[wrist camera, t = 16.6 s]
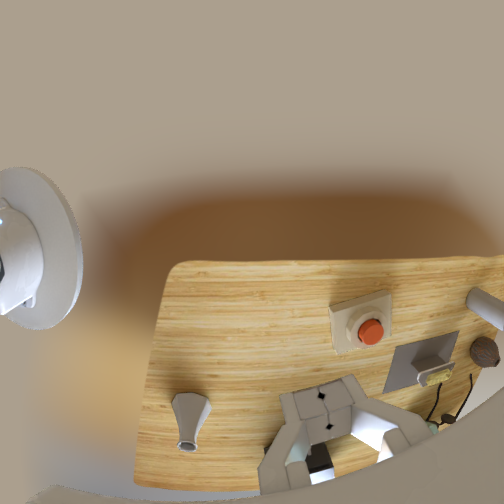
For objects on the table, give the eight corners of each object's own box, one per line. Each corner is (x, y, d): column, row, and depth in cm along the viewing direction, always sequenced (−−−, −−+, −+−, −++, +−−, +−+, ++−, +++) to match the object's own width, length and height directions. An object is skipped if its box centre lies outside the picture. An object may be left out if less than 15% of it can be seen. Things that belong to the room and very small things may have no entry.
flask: (213, 394, 44) (212, 436, 34) (210, 420, 46) (209, 460, 36) (171, 388, 43) (163, 430, 33) (171, 414, 45) (164, 454, 35)
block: (332, 347, 44) (341, 361, 40) (328, 306, 41) (337, 318, 38) (385, 329, 44) (396, 341, 40) (384, 288, 42) (397, 298, 38)
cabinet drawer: (261, 437, 47) (266, 467, 39) (318, 423, 47) (328, 452, 40) (276, 474, 51) (281, 499, 44) (322, 463, 52) (330, 487, 44)
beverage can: (478, 301, 45) (515, 323, 34) (465, 312, 45) (501, 337, 34) (478, 282, 44) (517, 303, 32) (464, 293, 44) (503, 317, 33)
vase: (462, 356, 49) (483, 375, 40) (476, 330, 48) (499, 347, 39) (474, 358, 50) (494, 375, 42) (488, 334, 49) (509, 350, 40)
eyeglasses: (415, 425, 53) (423, 437, 49) (438, 383, 50) (449, 394, 45) (451, 412, 55) (459, 422, 50) (473, 371, 51) (483, 381, 47)
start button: (358, 342, 40) (363, 348, 38) (357, 323, 39) (362, 328, 37) (378, 335, 40) (383, 340, 38) (378, 316, 39) (384, 321, 37)
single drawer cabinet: (263, 448, 49) (269, 483, 40) (321, 434, 49) (334, 467, 40) (275, 476, 53) (280, 506, 44) (324, 464, 53) (334, 492, 44)
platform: (444, 374, 49) (459, 389, 43) (382, 393, 48) (395, 414, 42) (459, 330, 47) (477, 344, 40) (396, 346, 45) (413, 365, 39)
